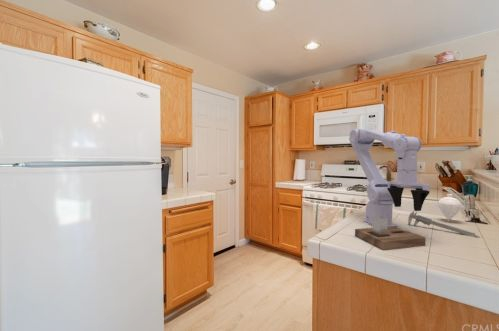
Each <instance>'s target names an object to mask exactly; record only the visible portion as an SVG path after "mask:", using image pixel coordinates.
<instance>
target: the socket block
mask: <svg viewBox="0 0 499 331" xmlns="http://www.w3.org/2000/svg"><path fill="white" fill-rule="evenodd" d="M354 237H356V238H359V239H360V240H362V241H364V242H366V243H368V244H370V245H372V246H374V247H376V248H378V249H380V250H382V251H388V250H395V249H396V250H397V249H404V248H405V249H407V248H412V247H416V248H417V247H423V246H426V240H427V239H426V238H427V237H425V236H422V235H419V234H417V233H413V232H412V231H408V230H405V229H403V228H400V227H398V226H395V227H394V226H387V236H386V237H376V236H374V235H372V227H363V228H354Z"/></svg>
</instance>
